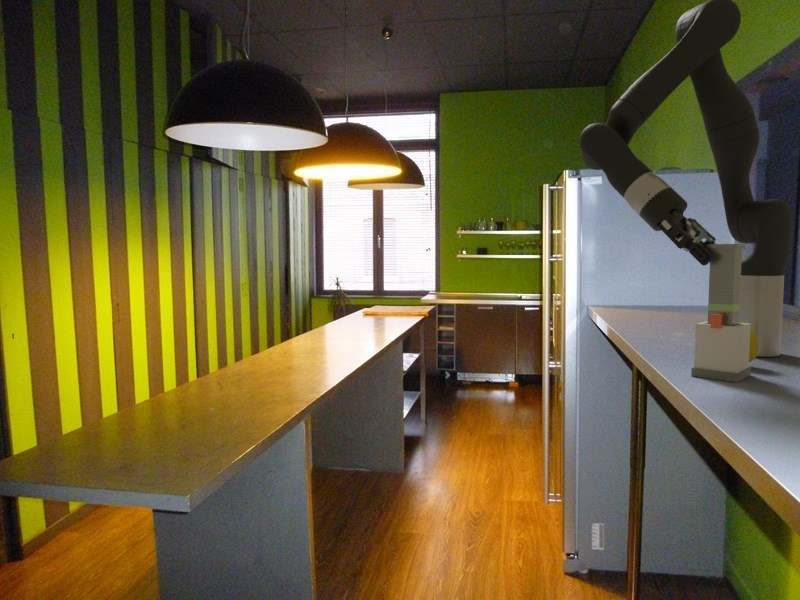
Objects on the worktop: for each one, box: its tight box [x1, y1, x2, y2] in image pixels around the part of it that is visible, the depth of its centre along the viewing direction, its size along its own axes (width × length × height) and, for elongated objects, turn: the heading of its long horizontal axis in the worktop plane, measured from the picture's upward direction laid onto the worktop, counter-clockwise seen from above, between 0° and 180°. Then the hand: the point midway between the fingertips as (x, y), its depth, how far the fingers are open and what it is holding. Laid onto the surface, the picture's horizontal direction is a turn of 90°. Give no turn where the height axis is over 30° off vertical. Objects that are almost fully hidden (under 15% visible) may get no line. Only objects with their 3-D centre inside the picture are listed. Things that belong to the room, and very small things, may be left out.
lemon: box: [749, 330, 758, 363], centre depth 117 cm, size 6×6×8 cm
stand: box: [691, 314, 752, 383], centre depth 108 cm, size 8×8×12 cm
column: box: [707, 243, 746, 326], centre depth 107 cm, size 5×5×17 cm
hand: (716, 261), depth 108 cm, fingers open, 8 cm apart
